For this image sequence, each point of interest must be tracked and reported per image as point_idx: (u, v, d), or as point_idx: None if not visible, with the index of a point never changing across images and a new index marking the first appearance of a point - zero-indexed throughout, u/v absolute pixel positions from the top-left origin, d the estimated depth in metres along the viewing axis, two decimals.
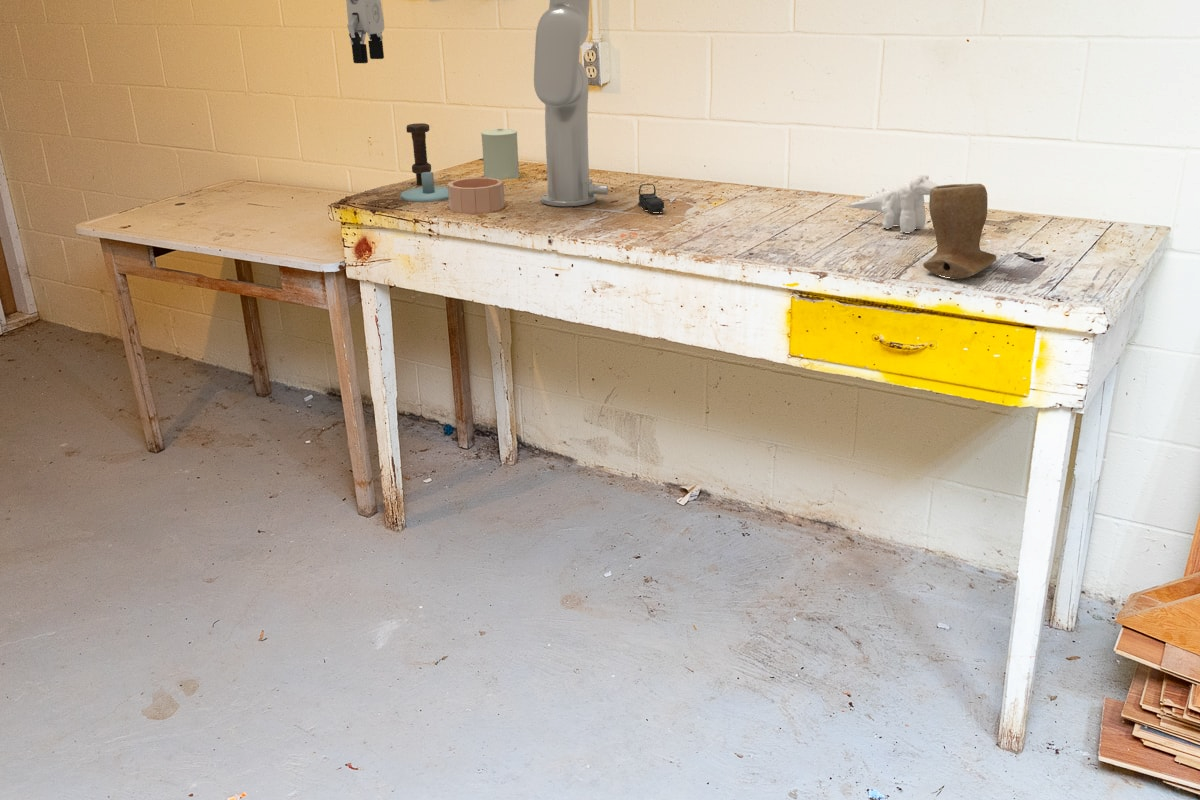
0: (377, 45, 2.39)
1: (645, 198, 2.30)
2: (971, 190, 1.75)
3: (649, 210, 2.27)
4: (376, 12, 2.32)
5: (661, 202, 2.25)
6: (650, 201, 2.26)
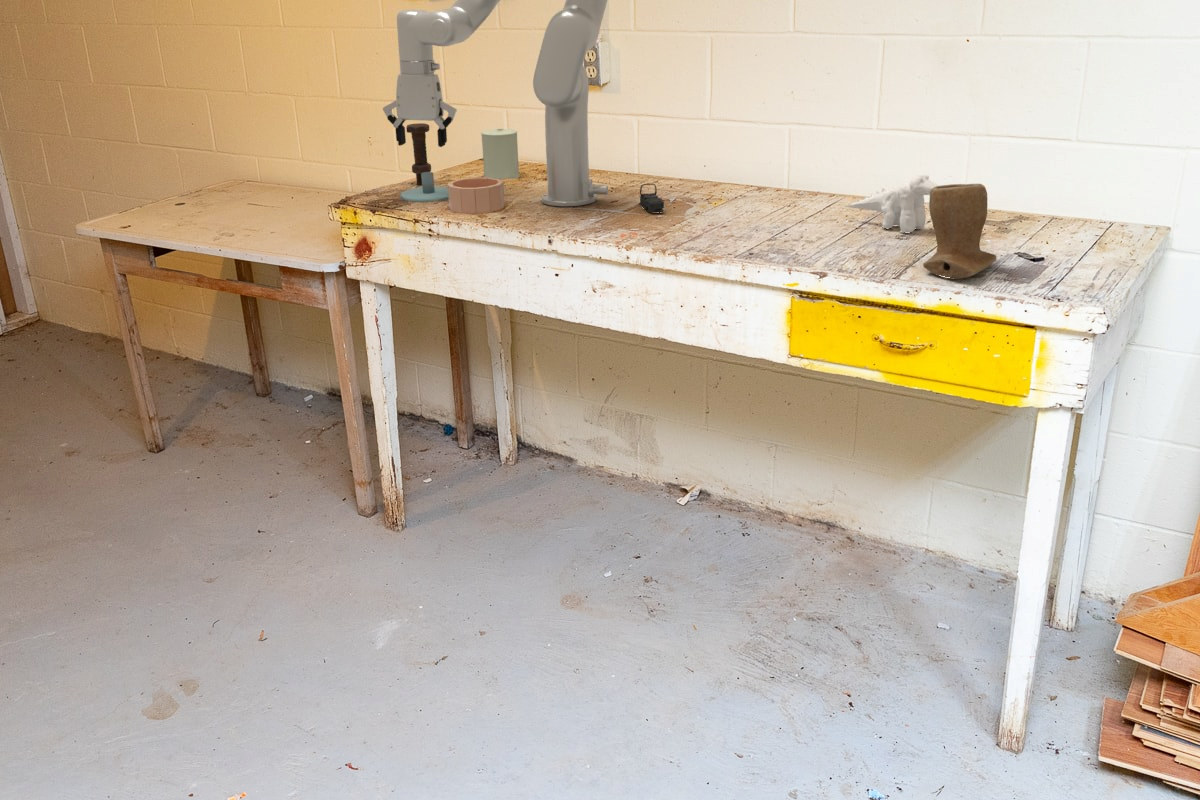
0: (403, 131, 2.43)
1: (646, 198, 2.31)
2: (971, 190, 1.75)
3: (649, 210, 2.27)
4: None
5: (661, 202, 2.25)
6: (650, 201, 2.26)
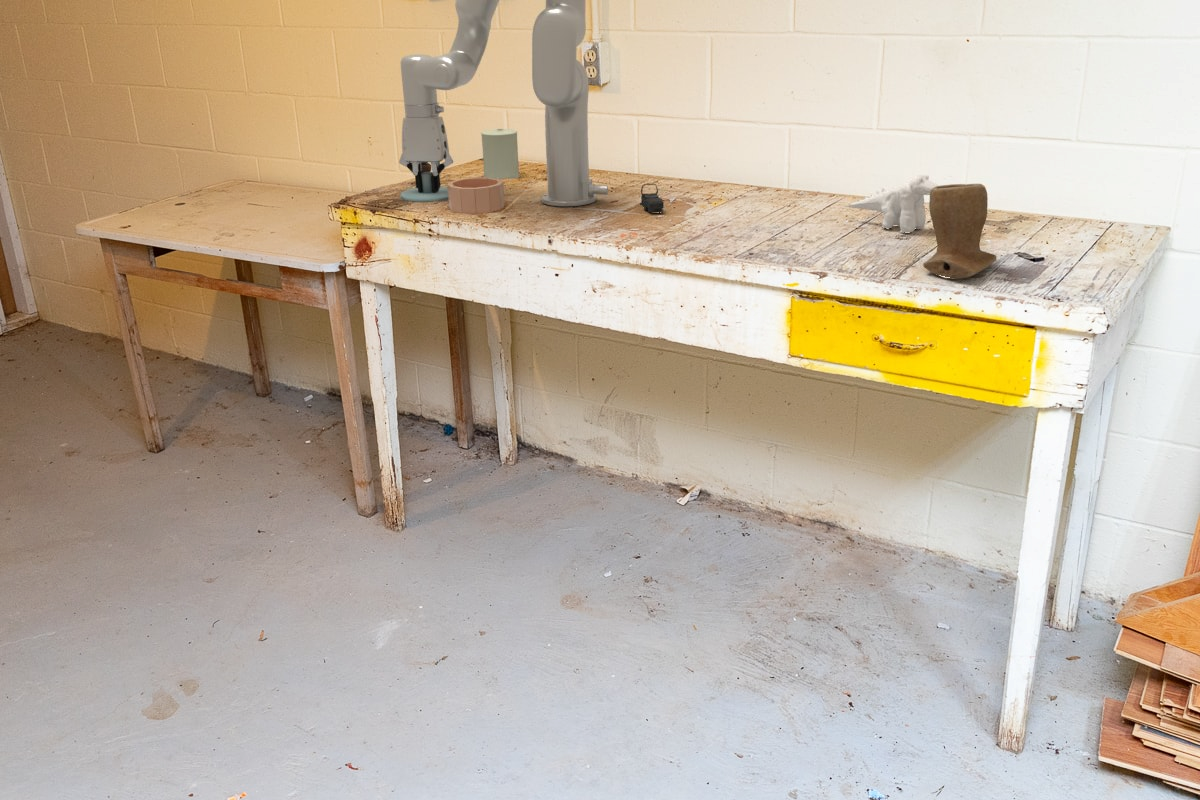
0: None
1: (646, 198, 2.31)
2: (971, 190, 1.75)
3: (649, 210, 2.27)
4: None
5: (660, 202, 2.25)
6: (649, 201, 2.26)
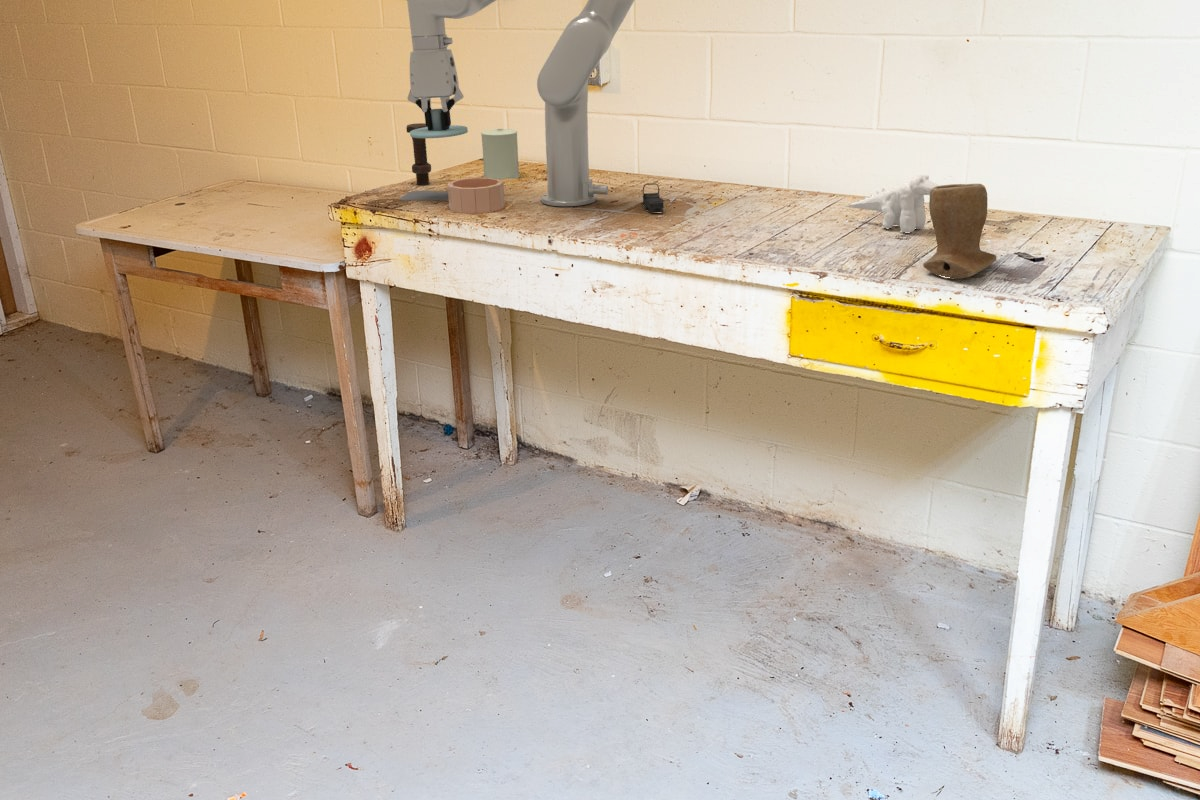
0: None
1: (647, 198, 2.31)
2: (971, 190, 1.75)
3: (649, 210, 2.28)
4: None
5: (660, 202, 2.25)
6: (650, 201, 2.26)
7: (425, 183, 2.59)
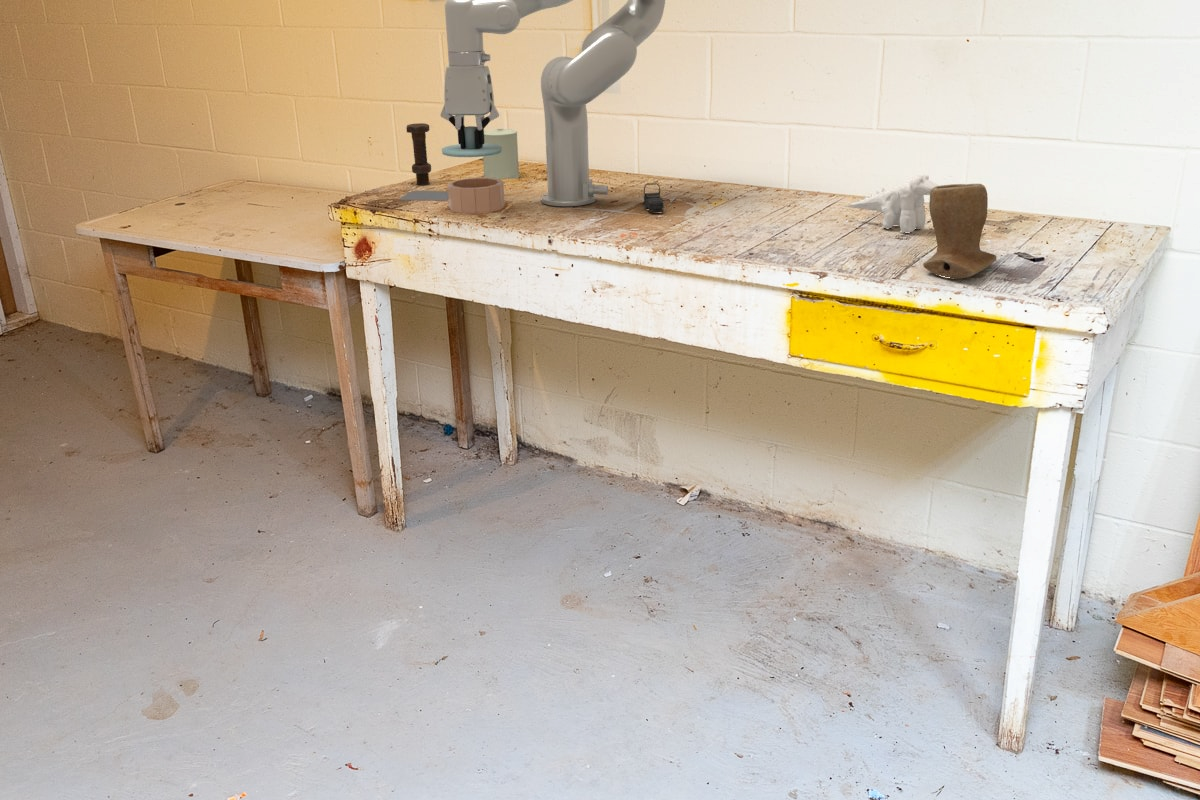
0: None
1: (648, 197, 2.31)
2: (971, 190, 1.75)
3: (649, 210, 2.28)
4: None
5: (660, 202, 2.25)
6: (649, 201, 2.26)
7: (425, 183, 2.59)
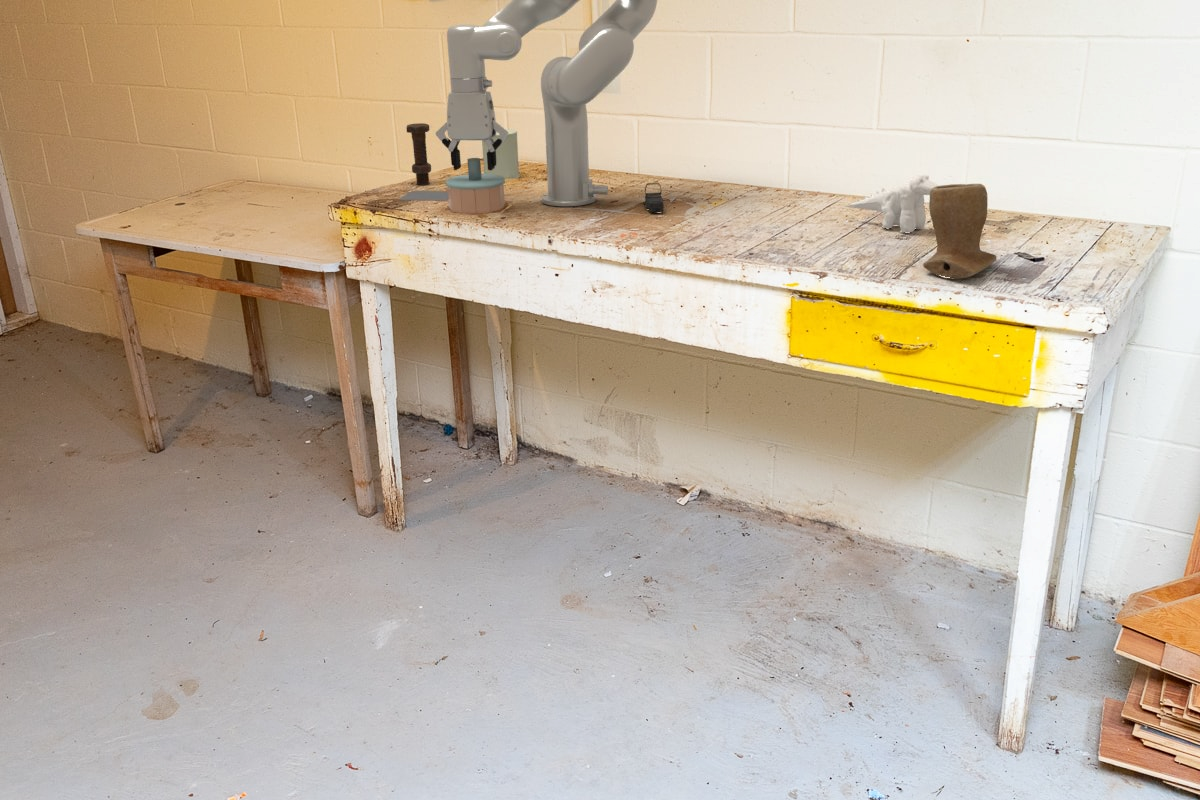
0: (458, 154, 2.31)
1: (648, 197, 2.31)
2: (971, 190, 1.75)
3: (649, 209, 2.28)
4: None
5: (660, 202, 2.25)
6: (650, 200, 2.26)
7: (425, 183, 2.59)
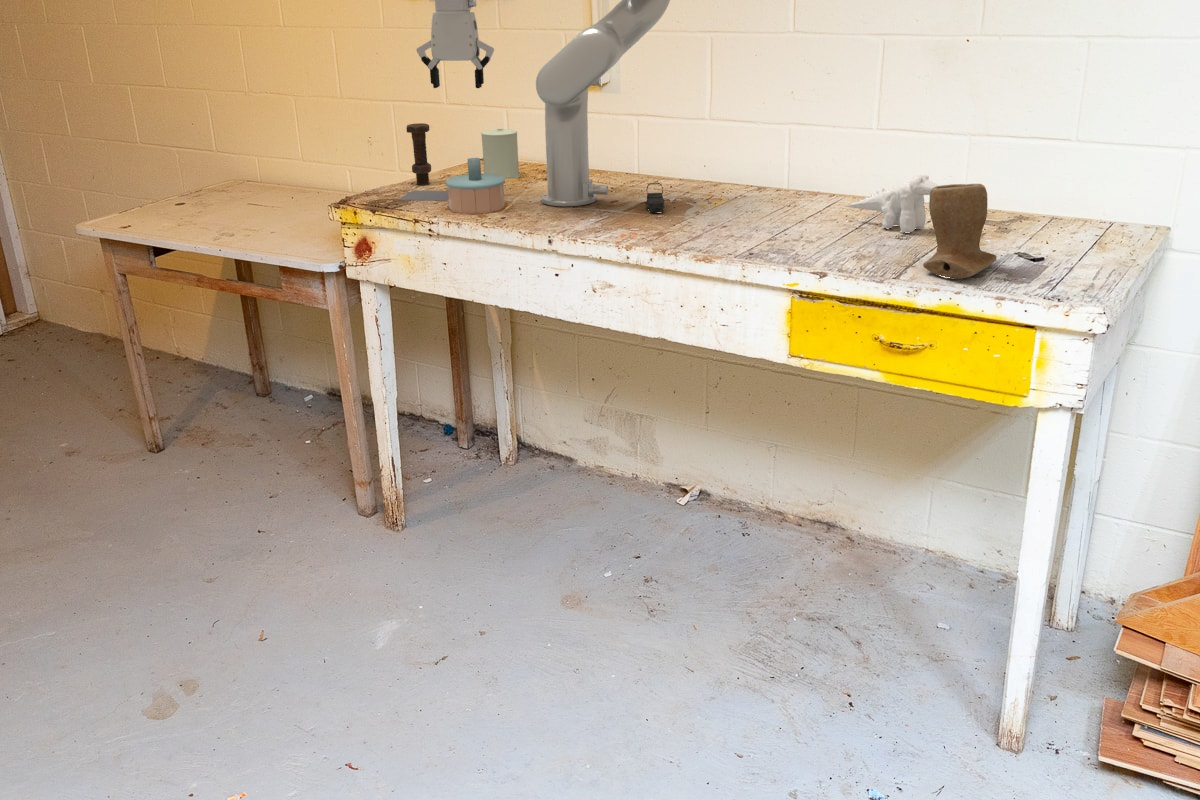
0: (437, 73, 2.34)
1: (649, 197, 2.31)
2: (971, 190, 1.75)
3: (649, 209, 2.28)
4: None
5: (660, 202, 2.25)
6: (650, 200, 2.26)
7: (425, 183, 2.59)
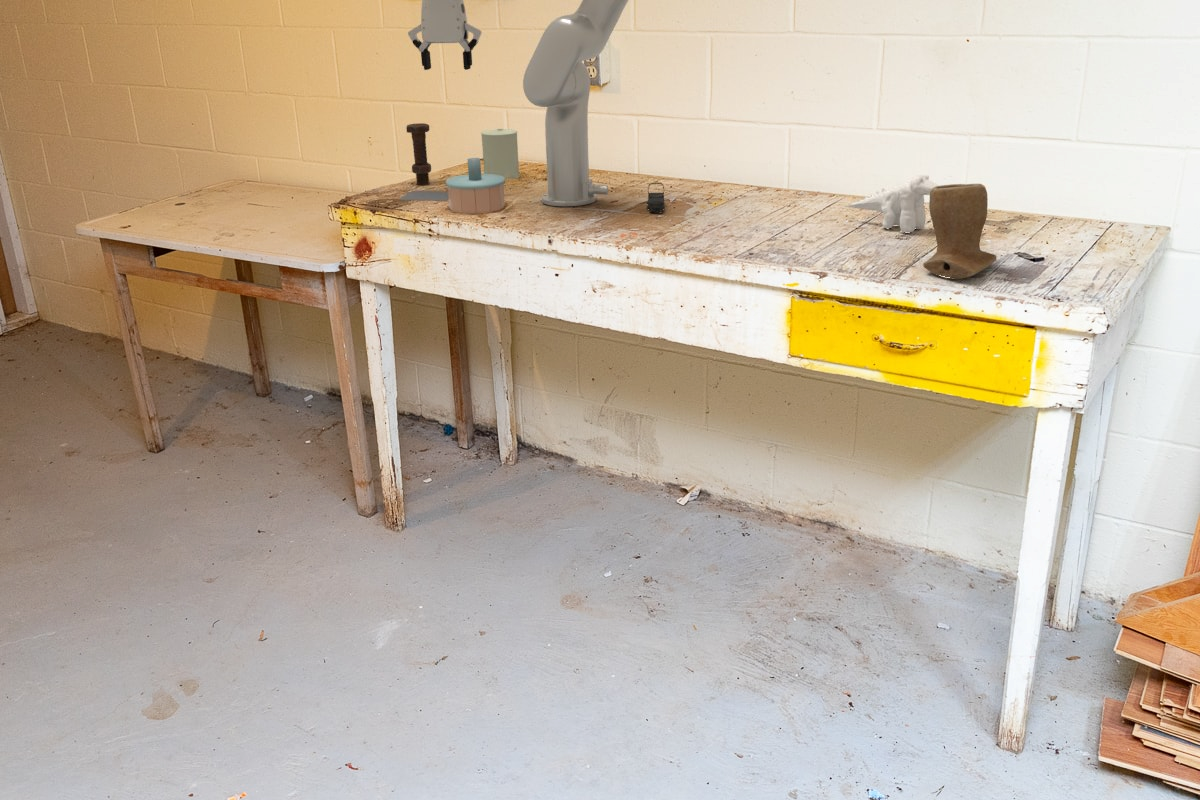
0: (428, 55, 2.44)
1: (650, 197, 2.31)
2: (971, 190, 1.75)
3: (649, 209, 2.28)
4: None
5: (660, 202, 2.25)
6: (650, 200, 2.26)
7: (425, 183, 2.59)
